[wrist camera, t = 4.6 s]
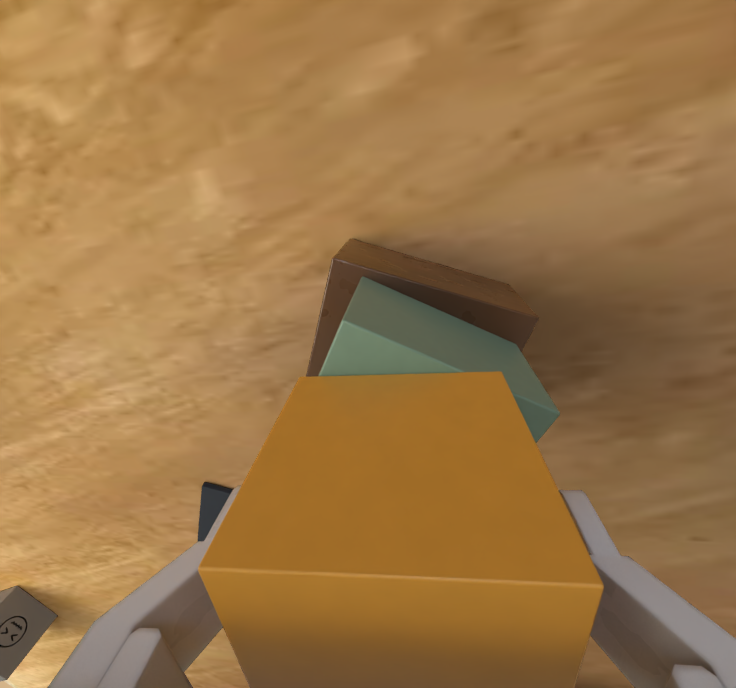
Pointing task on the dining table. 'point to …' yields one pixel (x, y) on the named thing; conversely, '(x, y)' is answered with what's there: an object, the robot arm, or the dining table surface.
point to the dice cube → (20, 627)
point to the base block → (418, 295)
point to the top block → (402, 543)
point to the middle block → (429, 348)
